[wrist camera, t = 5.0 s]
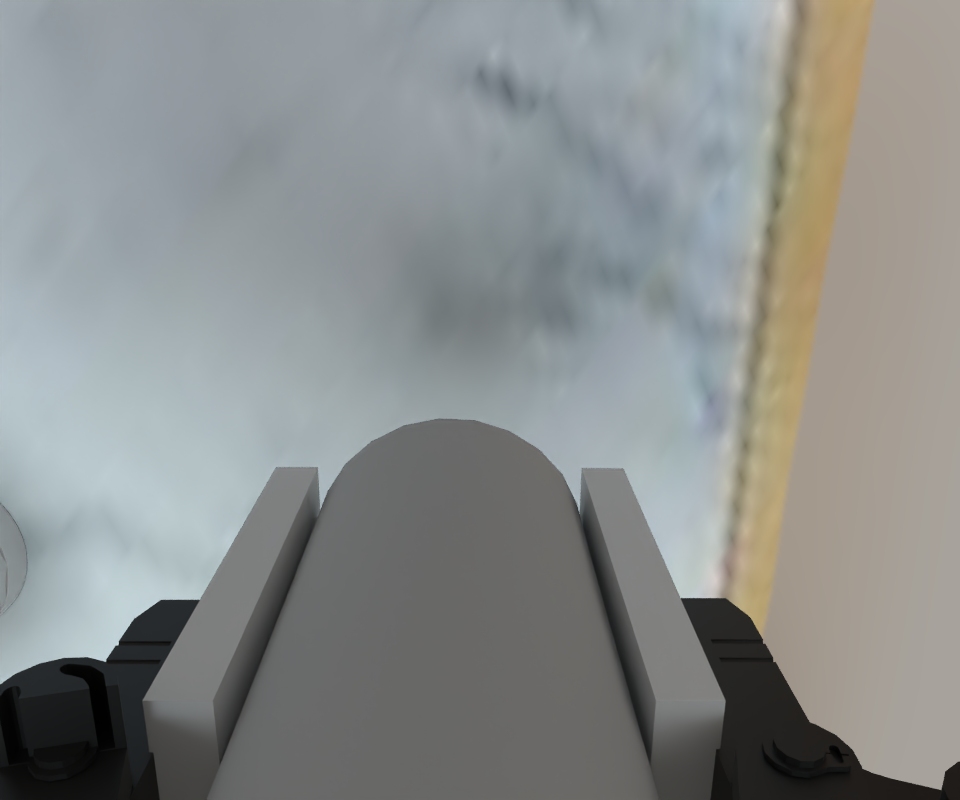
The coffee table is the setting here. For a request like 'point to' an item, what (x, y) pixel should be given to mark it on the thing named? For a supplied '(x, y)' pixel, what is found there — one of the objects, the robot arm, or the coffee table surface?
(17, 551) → the cup
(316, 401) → the coffee table surface
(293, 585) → the beverage can
